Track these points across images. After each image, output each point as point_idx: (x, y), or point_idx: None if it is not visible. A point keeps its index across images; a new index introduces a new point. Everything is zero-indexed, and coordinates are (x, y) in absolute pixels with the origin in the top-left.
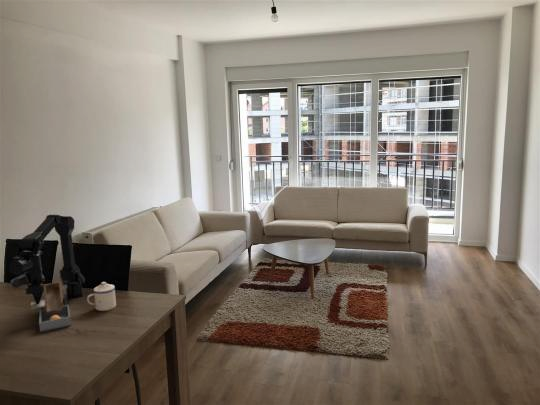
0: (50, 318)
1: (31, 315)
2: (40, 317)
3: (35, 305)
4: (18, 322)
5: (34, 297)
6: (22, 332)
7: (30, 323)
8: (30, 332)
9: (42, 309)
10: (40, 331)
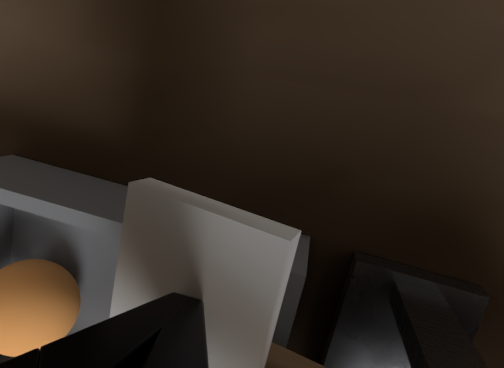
0: (4, 284)
1: (496, 190)
2: (74, 220)
3: (153, 262)
4: (395, 34)
5: (36, 361)
6: (98, 28)
7: (266, 132)
8: (56, 88)
9: (402, 313)
10: (8, 157)
